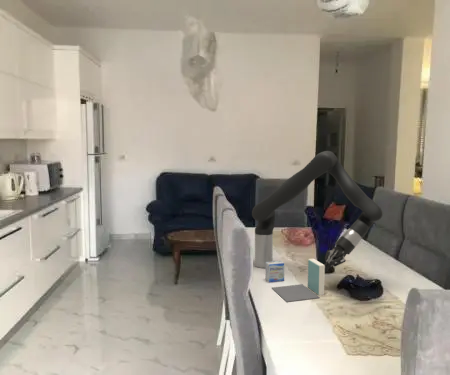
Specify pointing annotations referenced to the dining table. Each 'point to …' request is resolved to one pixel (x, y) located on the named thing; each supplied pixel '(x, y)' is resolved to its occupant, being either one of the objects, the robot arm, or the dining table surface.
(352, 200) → the robot arm
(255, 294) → the dining table surface
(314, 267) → the white and teal block
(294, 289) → the mat
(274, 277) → the medicine box
